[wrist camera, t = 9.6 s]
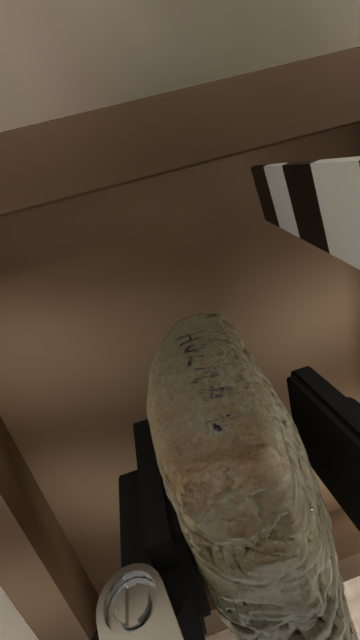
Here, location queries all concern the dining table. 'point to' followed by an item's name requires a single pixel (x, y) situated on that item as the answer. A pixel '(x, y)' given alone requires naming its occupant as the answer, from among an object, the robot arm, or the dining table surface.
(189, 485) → the cuneiform tablet
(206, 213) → the wooden tray
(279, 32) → the dining table surface
